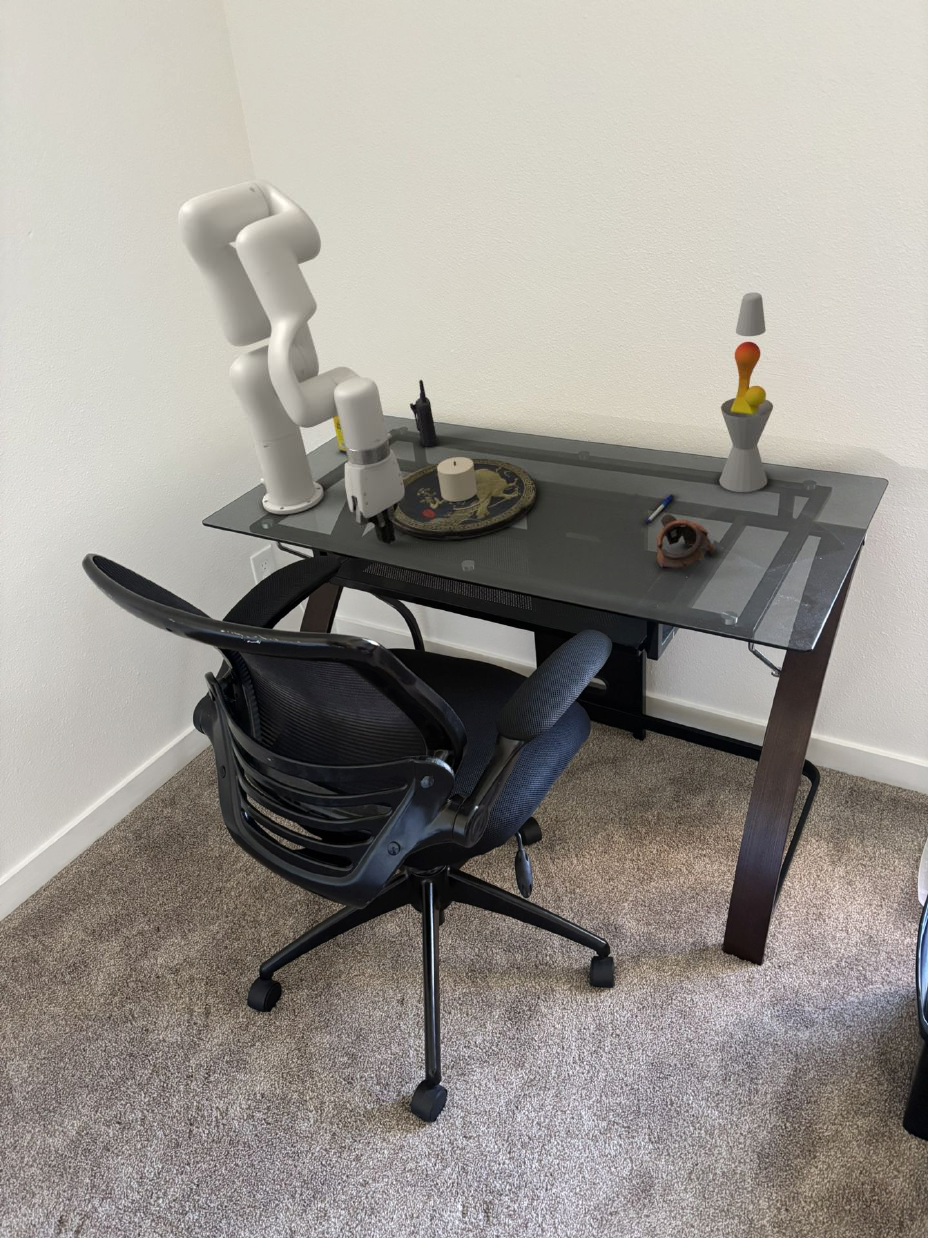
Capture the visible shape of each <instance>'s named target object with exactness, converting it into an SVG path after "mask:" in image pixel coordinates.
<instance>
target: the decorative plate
mask: <svg viewBox="0 0 928 1238" xmlns="http://www.w3.org/2000/svg"><path fill="white" fill-rule="evenodd" d="M469 459H470V460H472V461H473V465H474V473H475V480H476V487H477V492H476V494H475V495H474V496H473V497H471V498H470V499H467V500H464V501H458V502H453V501H447V500H445V499H444V498H443V497H442V495H441V489H440V483H439V476H438V470H437V466H438V465H439V464H440V463H441V462H440V463H436V464H431V465H429V466H426V467H424V468H420V469H418V470H417V471H414V472H412V473H410V474H407V476H405V477H404V478H403V477H402V480H403V484H404V492H405V493H404V501H403V502H402V503H401V504H400V505H399V506H397V509H396V511H395V513H394V515H395V518H394V520H393V521H392V522H393V527H394V528H395V529H397V530H399V531H400V532H403V533H404V534H407V535H410V536H414V537H418V538H423V539H428V540H440V541H442V540H445V541H449V540H463V539H470V538H475V537H480V536H484V535H487V534H491V533H494V532H496V531H499V530H502V529H504V528H506V527H509V526H510V525H512V524H513V523H516V522H517V521H518V520H519V519H521V518H522V517H524V516H525V515H526V514H527V513H528V512H529V511H530V509H531V508H532V507H533V505H534V503H535V501H536V497H537V488H536V486H535V485H536V484H535V482H534V479H533V478H532V477H531V476H530V474H529V473H528V472H527V471H525V470H524V469H522V467H519V466H517V465H514V464H513V463H509V462H505V461H501V460H498V459H497V460H496V459H489V458H469Z"/></svg>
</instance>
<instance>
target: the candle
mask: <svg viewBox="0 0 928 1238" xmlns="http://www.w3.org/2000/svg"><path fill="white" fill-rule="evenodd" d="M470 459H471V458H469V457H464V456H455V457H449V458H447V459H444V460H442V461H441V462H440V464H439V463H438V464H439V465H438V466H437V470H438V476H439V483H440V489H441V495H442V497H443V498H444V499H445V500H447V501H453V502H458V501H464V500H467V499H470V498H471V497H473V496H474V495H475V494H476V492H477V487H476V480H475V473H474V465H473V461H472V460H470Z"/></svg>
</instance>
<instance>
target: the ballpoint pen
mask: <svg viewBox="0 0 928 1238" xmlns="http://www.w3.org/2000/svg"><path fill="white" fill-rule="evenodd" d="M673 499H674V494H672V493H671V494H670V495H669V496H668V497H666V498H665V499H664V501H663V502H662V503H661V504H660V506H659V507H658V508H657V509H655V511H654V512H653V513H652V514H651V515H650V516H649V517H648V518H647V519H646V521H645V523H646V524H649V523H650V522H651V521H653V520H654V519H655V517H657V515H658V514H659V513H660V512H661V511H662V510H663V509H664V508H665V507H666V506H667V505H668V504H669V503H670V502H671V501H672V500H673Z"/></svg>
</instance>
